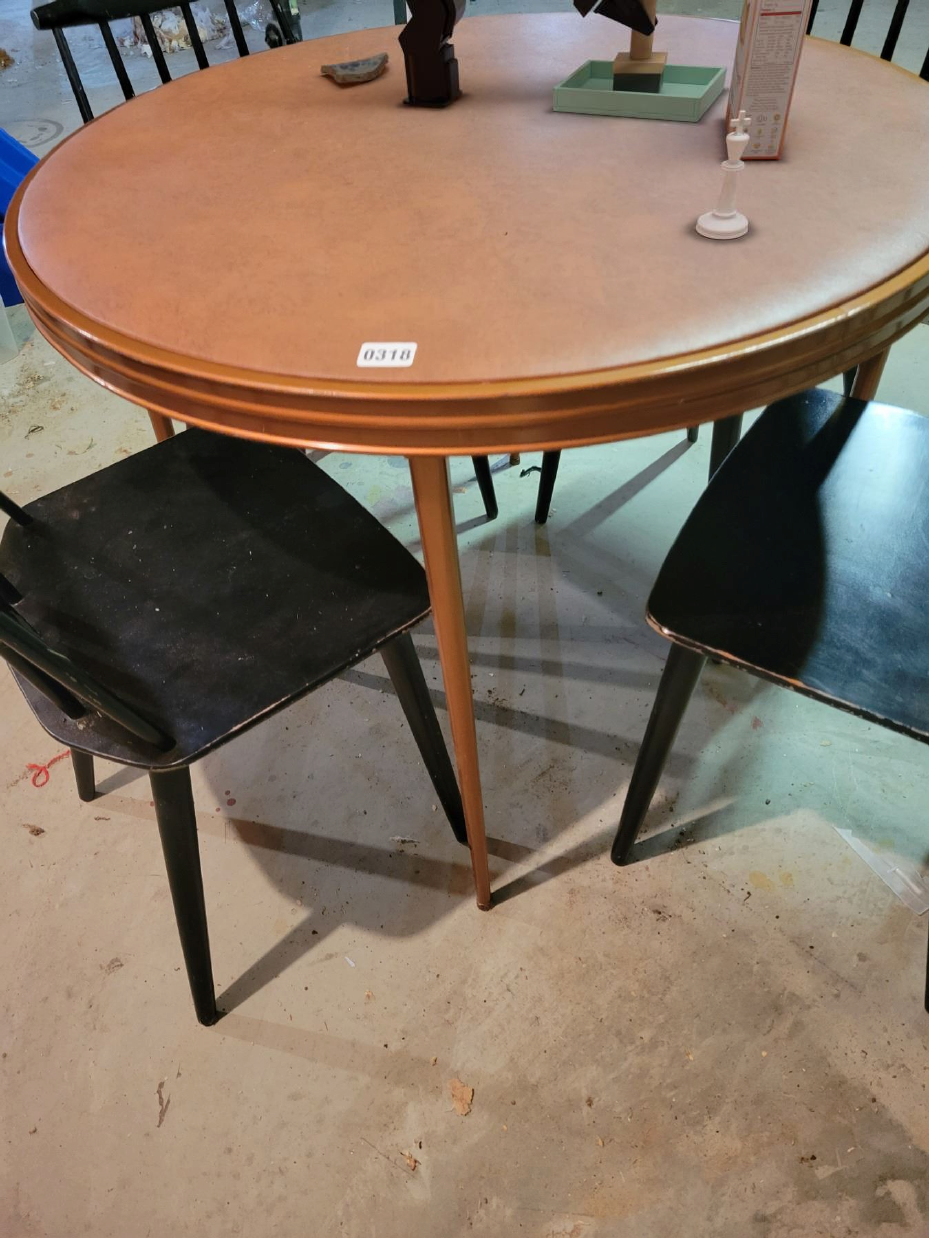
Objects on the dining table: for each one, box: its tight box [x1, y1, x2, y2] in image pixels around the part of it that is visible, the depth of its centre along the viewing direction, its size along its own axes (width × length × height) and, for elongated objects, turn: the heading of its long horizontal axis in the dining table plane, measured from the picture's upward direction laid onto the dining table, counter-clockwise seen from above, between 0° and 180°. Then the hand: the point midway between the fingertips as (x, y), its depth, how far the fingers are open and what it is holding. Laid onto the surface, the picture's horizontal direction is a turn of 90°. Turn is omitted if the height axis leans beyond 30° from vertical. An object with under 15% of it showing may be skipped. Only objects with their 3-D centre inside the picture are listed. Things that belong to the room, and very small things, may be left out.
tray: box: [552, 59, 728, 123], centre depth 102 cm, size 19×13×3 cm
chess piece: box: [695, 110, 751, 240], centre depth 72 cm, size 5×5×10 cm
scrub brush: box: [612, 0, 669, 94], centre depth 98 cm, size 6×5×10 cm
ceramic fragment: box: [319, 52, 390, 84], centre depth 118 cm, size 11×3×10 cm
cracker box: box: [725, 0, 813, 161], centre depth 83 cm, size 14×6×21 cm, turn 169°
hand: (653, 29), depth 97 cm, fingers closed on scrub brush, 3 cm apart
